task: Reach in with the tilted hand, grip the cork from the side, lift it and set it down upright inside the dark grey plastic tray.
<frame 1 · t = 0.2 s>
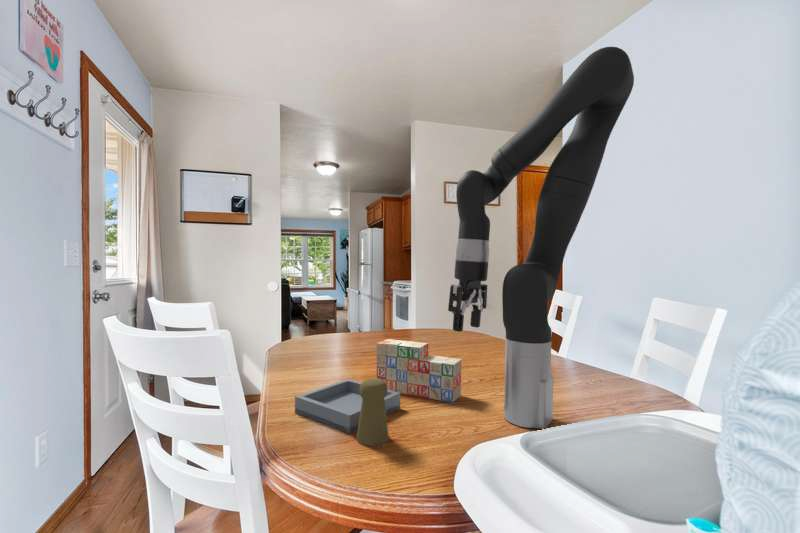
hand: (466, 328, 89), 18 cm above the table, tool pointing down, fingers open, 8 cm apart
tray: (348, 410, 85), on the table
stack of blocks: (417, 393, 98), on the table
cork: (372, 439, 72), on the table
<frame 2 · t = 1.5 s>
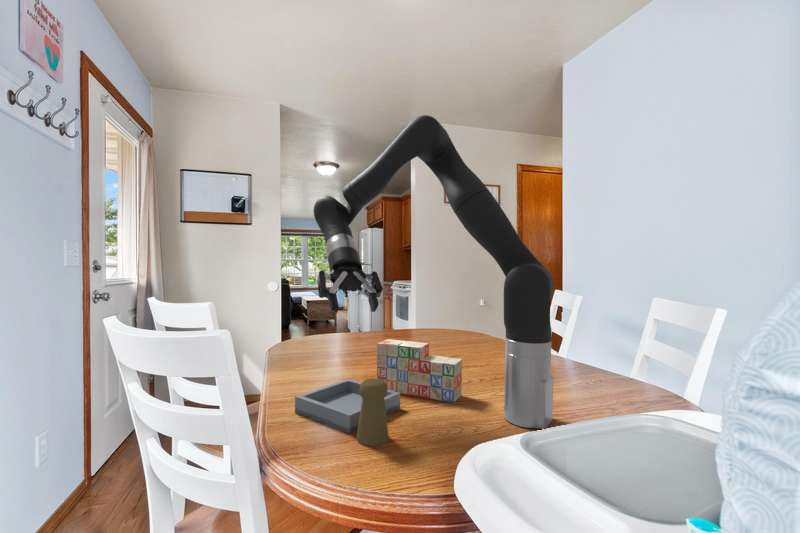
hand: (355, 310, 82), 23 cm above the table, tool tilted 45°, fingers open, 8 cm apart
nothing on the table moved.
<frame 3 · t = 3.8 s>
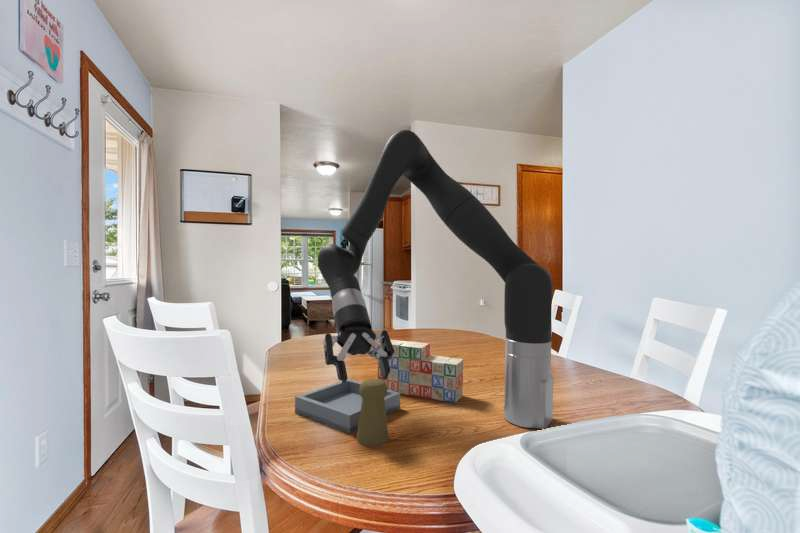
hand: (365, 378, 76), 10 cm above the table, tool tilted 45°, fingers open, 8 cm apart
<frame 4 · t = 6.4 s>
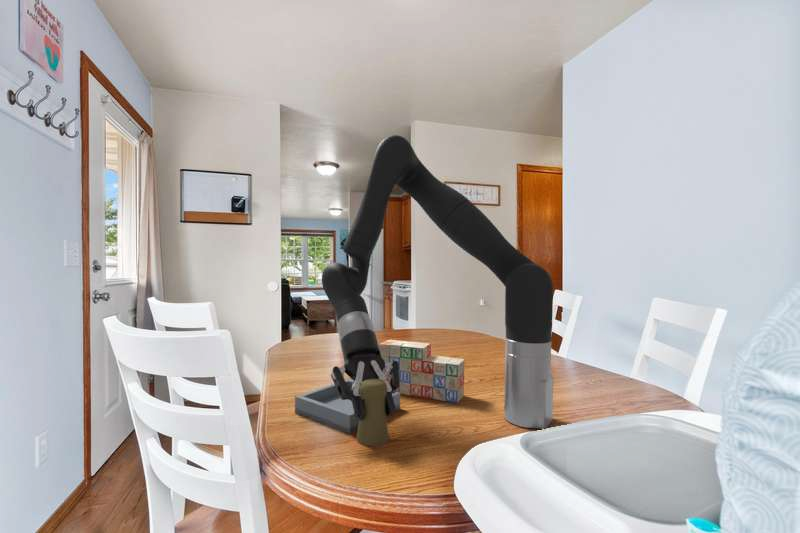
hand: (376, 415, 70), 5 cm above the table, tool tilted 45°, fingers closed on cork, 5 cm apart
cork: (372, 439, 72), on the table, touching gripper
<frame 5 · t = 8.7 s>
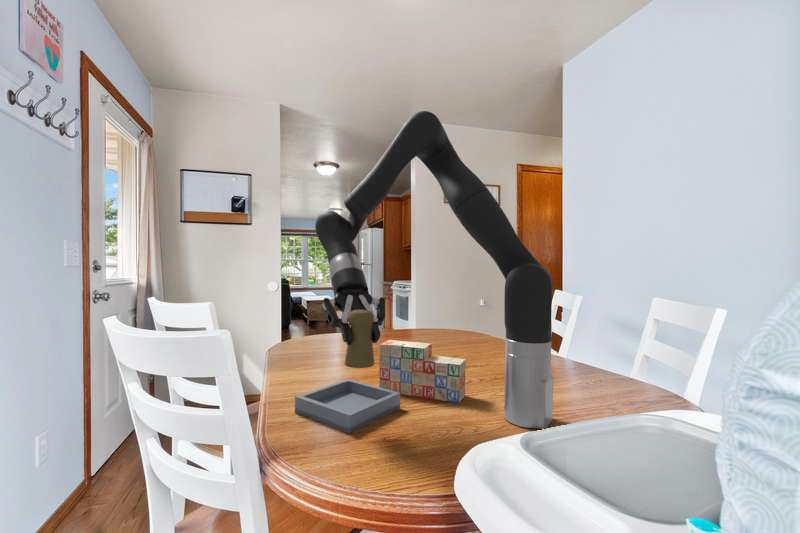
hand: (363, 341, 76), 17 cm above the table, tool tilted 45°, fingers closed on cork, 5 cm apart
cork: (359, 364, 78), point 12 cm above the table, touching gripper
when the fingers open (7 cm above the table, at t = 11.5 s): cork drops 1 cm, resting on tray.
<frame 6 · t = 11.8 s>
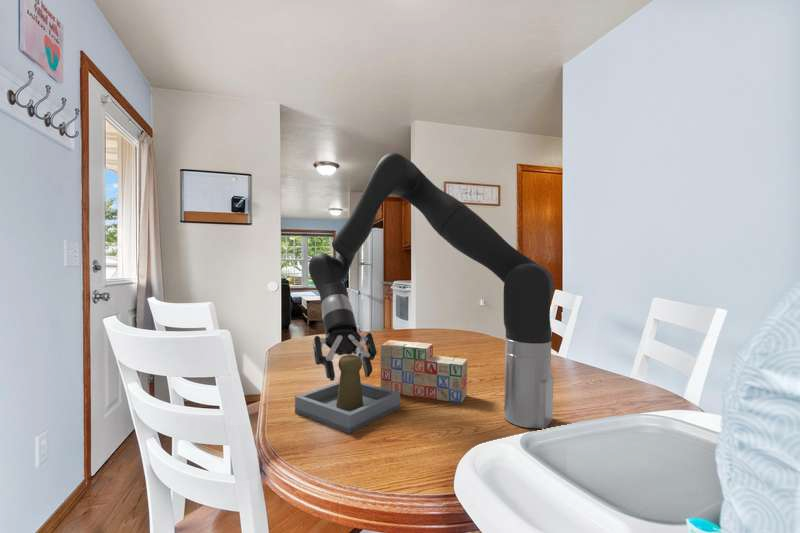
hand: (350, 377, 84), 8 cm above the table, tool tilted 45°, fingers open, 7 cm apart
cork: (349, 406, 86), point 1 cm above the table, touching tray
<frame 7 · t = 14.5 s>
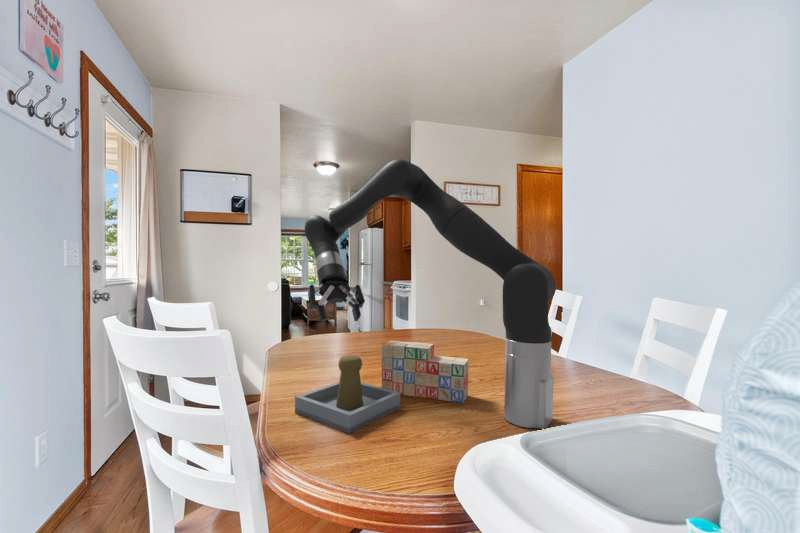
hand: (340, 319, 96), 18 cm above the table, tool tilted 45°, fingers open, 8 cm apart
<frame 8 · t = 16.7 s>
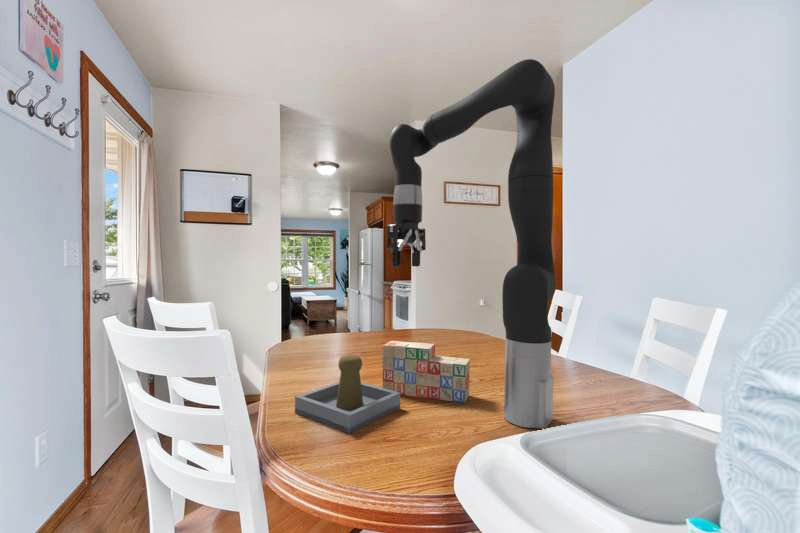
hand: (406, 266, 100), 32 cm above the table, tool pointing down, fingers open, 8 cm apart
at the end: cork inside the target area on the tray (0.4 cm from its centre), point 0.8 cm above the tray's base; cork tilted 0°; the gripper is holding nothing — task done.
